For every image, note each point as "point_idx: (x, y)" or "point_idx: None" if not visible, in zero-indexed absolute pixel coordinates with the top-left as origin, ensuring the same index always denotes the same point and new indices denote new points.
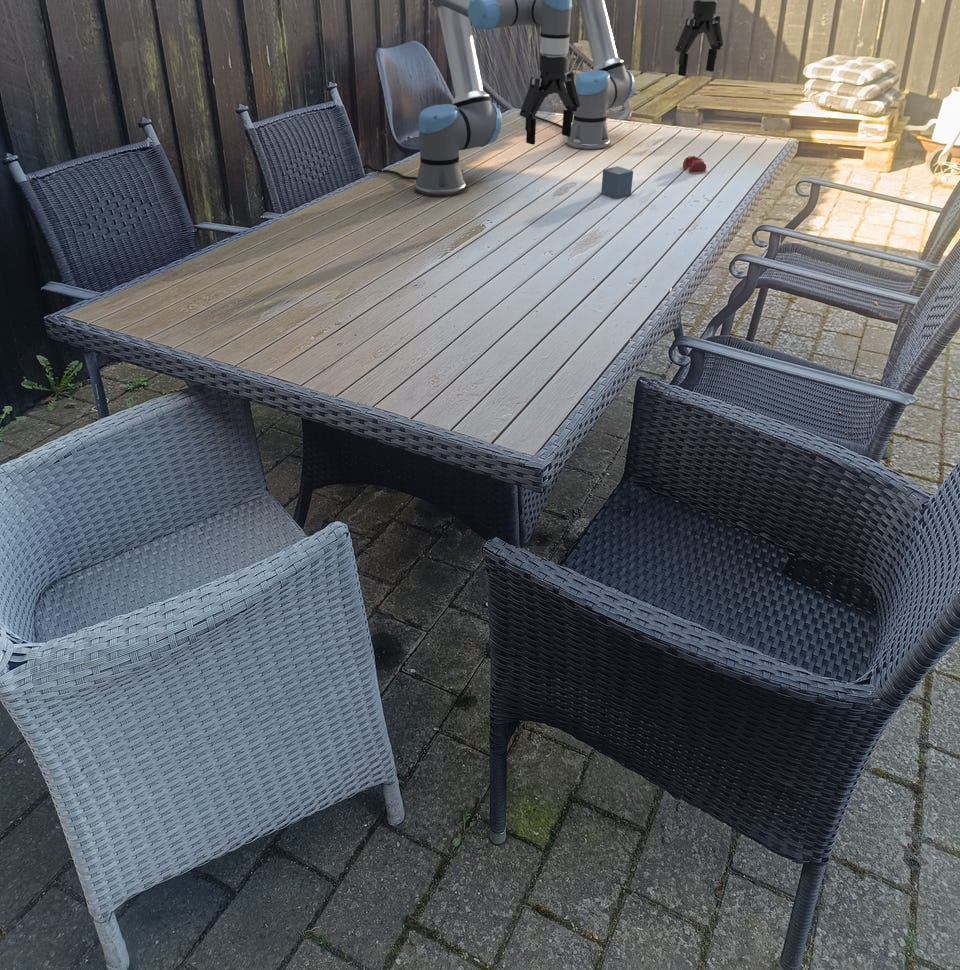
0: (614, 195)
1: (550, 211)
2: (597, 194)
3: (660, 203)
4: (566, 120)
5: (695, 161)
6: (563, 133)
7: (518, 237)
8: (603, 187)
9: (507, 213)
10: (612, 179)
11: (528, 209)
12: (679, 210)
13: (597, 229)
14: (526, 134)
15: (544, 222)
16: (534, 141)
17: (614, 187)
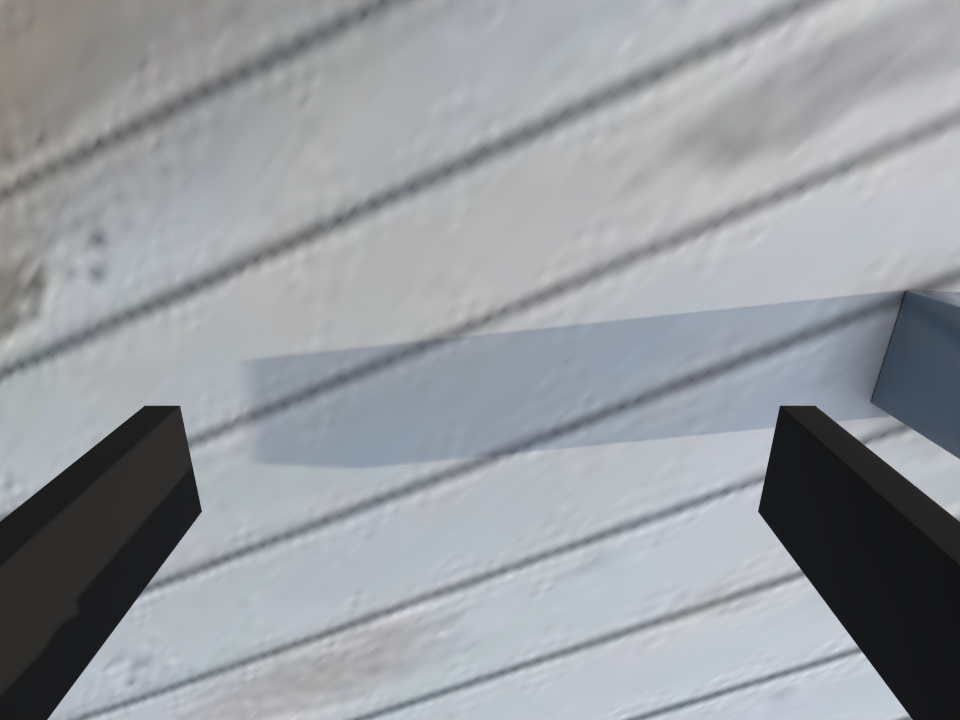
0: (883, 394)
1: (464, 335)
2: (877, 288)
3: None
4: (886, 602)
5: None
6: (785, 441)
7: None
8: (927, 314)
9: (254, 212)
10: (952, 402)
11: (393, 236)
12: None
13: (455, 614)
14: (80, 458)
15: (329, 432)
16: (178, 532)
17: (914, 406)
